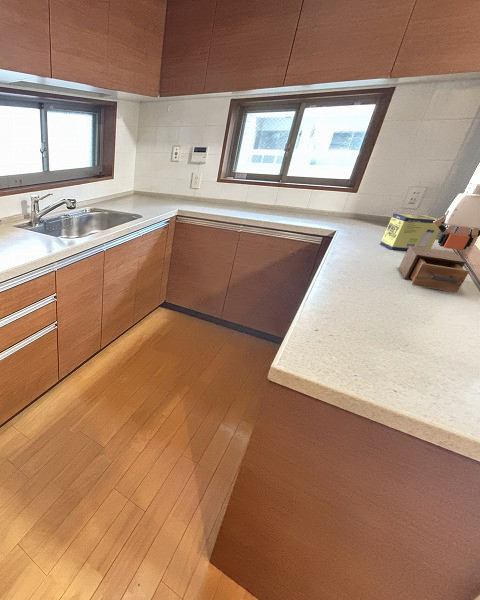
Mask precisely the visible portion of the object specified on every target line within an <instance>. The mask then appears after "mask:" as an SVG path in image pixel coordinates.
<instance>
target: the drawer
mask: <svg viewBox="0 0 480 600" xmlns="http://www.w3.org/2000/svg"><path fill="white" fill-rule="evenodd" d="M469 273H470V270H468V269H464V268H462V267H461V266H460V265H459V264H458V263H453V262H446V261H440V260H433V259H427V258H420V257H418V259H417V261H416V263H415V265H414V267H413V269H412V271H411V273H410V277H411V279H412V280H411V285H412V286H418V287H423V288H429V289H435V290H440V291H445V292H449V293H456V294H457V293H458V291H459V290H460V288H461V287H462V285H463V283H464V282H465V280H466V279H467V277H468V276H469Z"/></svg>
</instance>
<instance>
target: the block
mask: <svg viewBox="0 0 480 600" xmlns="http://www.w3.org/2000/svg"><path fill="white" fill-rule="evenodd" d="M468 235H469V234H466V233H459V232H452V231H450V232H449V237H448V239H447V241H446V243H445V245H444V246H443V248H444V249H450V250H457V251H463V250H464V247H465V245H466V243H467V242H468V240H469V238H470V237H469V236H468Z"/></svg>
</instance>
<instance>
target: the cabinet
mask: <svg viewBox="0 0 480 600" xmlns="http://www.w3.org/2000/svg"><path fill="white" fill-rule="evenodd" d="M418 257H420V258H427V259H433V260H440V261H446V262H453V263H458V264H459V265H460V266H461V267H462V268H463V267H464V266H465V264H466V261H465V260H464V259H463V258H461V257H460V256H459V255H458V254H457V253H456V252H455V251H451V250H445V249H443V250H442V249H437V248H431V249H430V248H423V247H416V246H409V248H408V250H407V251H405V254H404V256H403V258H402V260H401V263H400V265H399V266H398V270H399V272H400V273H401V275H402V277H403V280H407V281H413V280H412V279H411V277H410V273H411V271H412V269H413V267H414V265H415V263H416V261H417V259H418ZM463 269H464V268H463Z"/></svg>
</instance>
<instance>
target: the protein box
mask: <svg viewBox="0 0 480 600" xmlns="http://www.w3.org/2000/svg"><path fill="white" fill-rule="evenodd" d="M438 218H439V217H435V216H432V215H424V214H423V215H422V214H406V213H404V214H403V213H392V216H391V218H390V219H389V223H388V224H387V227H386V230H385V232H384V234H383V236H382V238H381V240H380V245H381V246H383V247H386V248H388V249H389V250H391V251H400V252H401V251H403V252H407V250H408V248H409V246H416V247H423V248H430V249H432V247H433V245H434V244H435V241H436V240H437V237H438V236H439V234H440V233H441V230H440V229H439V228H438V227H437V226H436V225H435V224H434V223H433V221H435V220H437V219H438ZM441 224H442V225H443V226H444V224H445V223H444V222H441Z"/></svg>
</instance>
